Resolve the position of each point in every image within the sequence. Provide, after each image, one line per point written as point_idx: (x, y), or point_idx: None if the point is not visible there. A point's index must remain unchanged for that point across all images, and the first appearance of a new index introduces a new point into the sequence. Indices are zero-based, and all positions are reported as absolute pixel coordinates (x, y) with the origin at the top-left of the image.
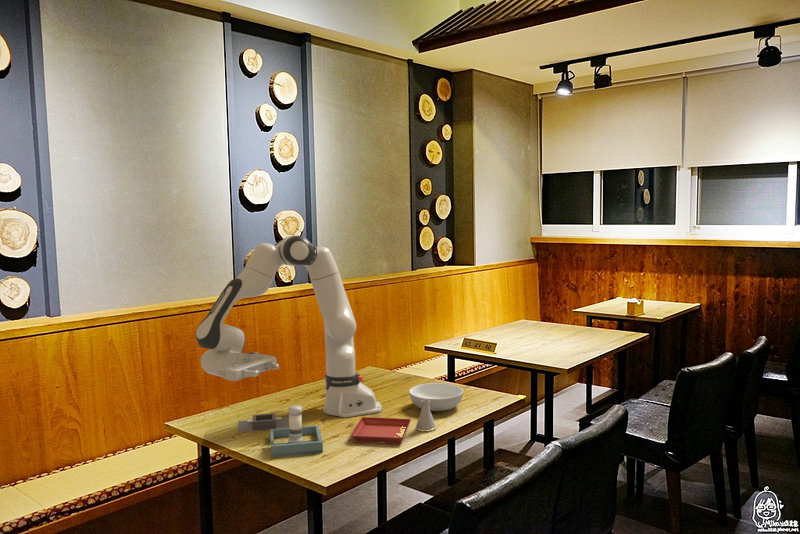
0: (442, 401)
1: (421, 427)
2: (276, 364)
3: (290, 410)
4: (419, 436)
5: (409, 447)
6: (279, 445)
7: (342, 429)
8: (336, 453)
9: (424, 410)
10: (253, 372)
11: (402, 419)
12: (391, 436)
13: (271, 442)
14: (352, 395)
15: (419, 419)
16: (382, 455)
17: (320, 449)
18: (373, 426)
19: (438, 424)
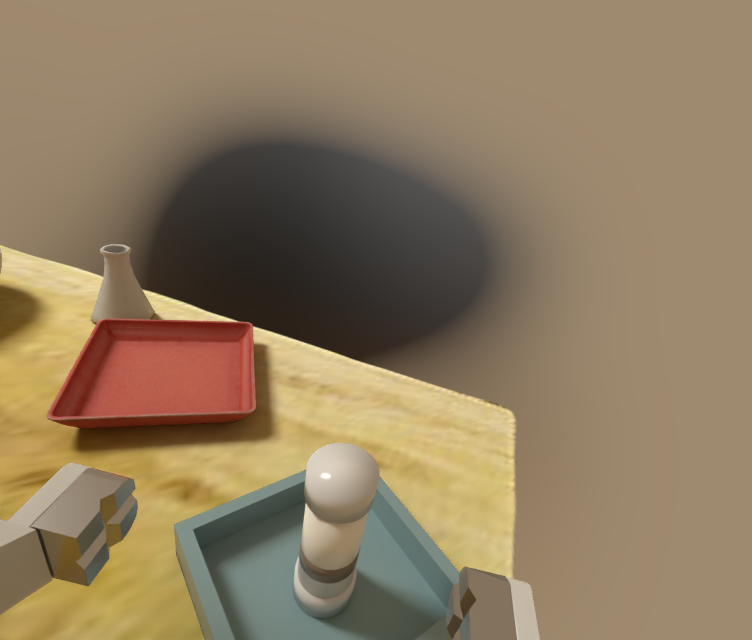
0: (1, 260)
1: (145, 312)
2: (98, 473)
3: (377, 484)
4: None
5: (259, 331)
6: (454, 573)
7: None
8: (342, 441)
9: (129, 271)
10: (531, 623)
11: (96, 332)
12: (197, 357)
13: (446, 631)
14: None
15: (128, 300)
16: (319, 361)
17: None
18: (99, 402)
19: (90, 302)
